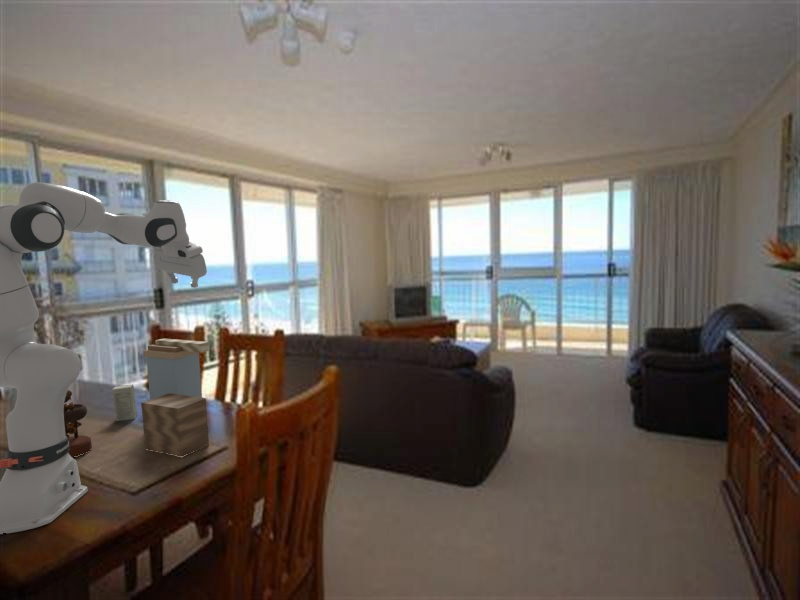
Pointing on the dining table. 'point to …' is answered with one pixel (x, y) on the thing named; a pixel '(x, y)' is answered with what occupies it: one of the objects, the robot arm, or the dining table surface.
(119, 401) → the skincare box
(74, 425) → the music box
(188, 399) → the brown wood grain block
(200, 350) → the light wood bar
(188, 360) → the chest
